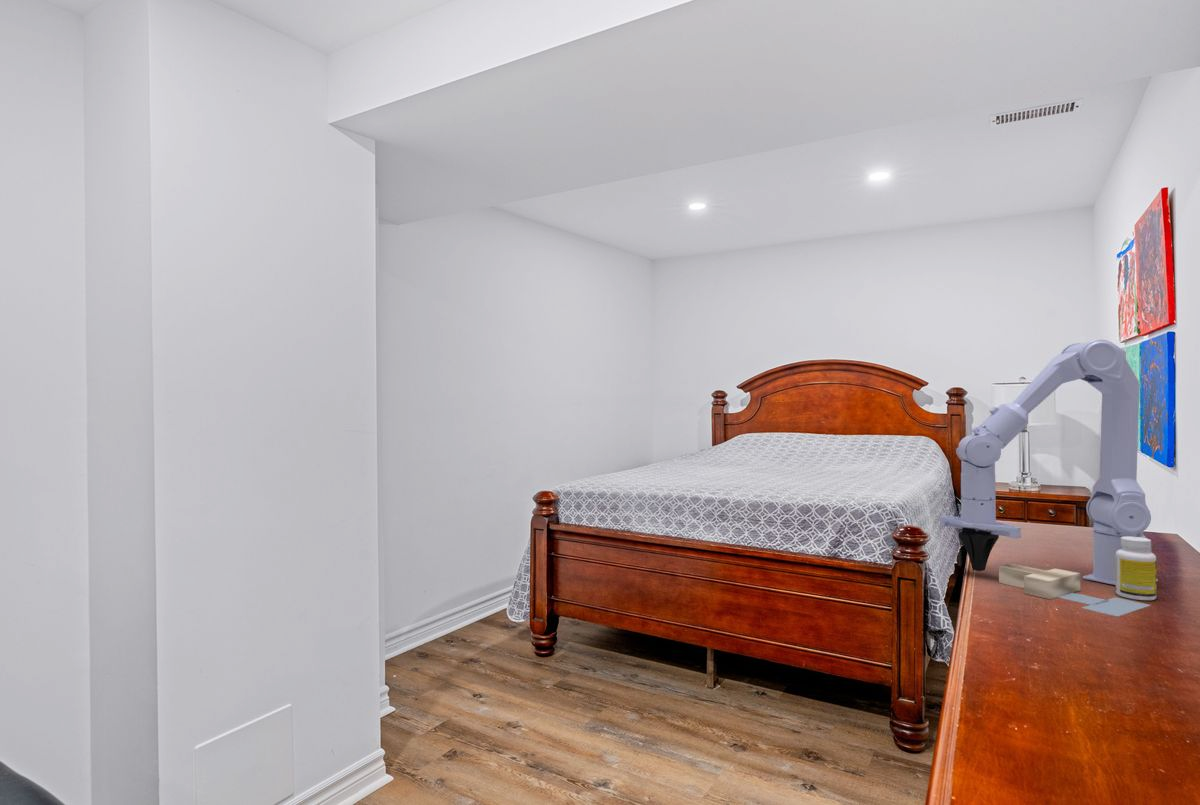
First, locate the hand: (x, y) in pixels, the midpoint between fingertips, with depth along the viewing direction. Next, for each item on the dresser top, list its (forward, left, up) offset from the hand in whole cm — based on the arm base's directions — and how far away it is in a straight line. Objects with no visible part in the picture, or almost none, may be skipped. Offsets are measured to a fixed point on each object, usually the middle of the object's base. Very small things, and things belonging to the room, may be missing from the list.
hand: (978, 569), depth 127 cm
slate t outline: (0, +19, -1) cm, 20 cm away
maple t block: (0, +10, -1) cm, 10 cm away
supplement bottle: (-9, +21, -1) cm, 23 cm away
